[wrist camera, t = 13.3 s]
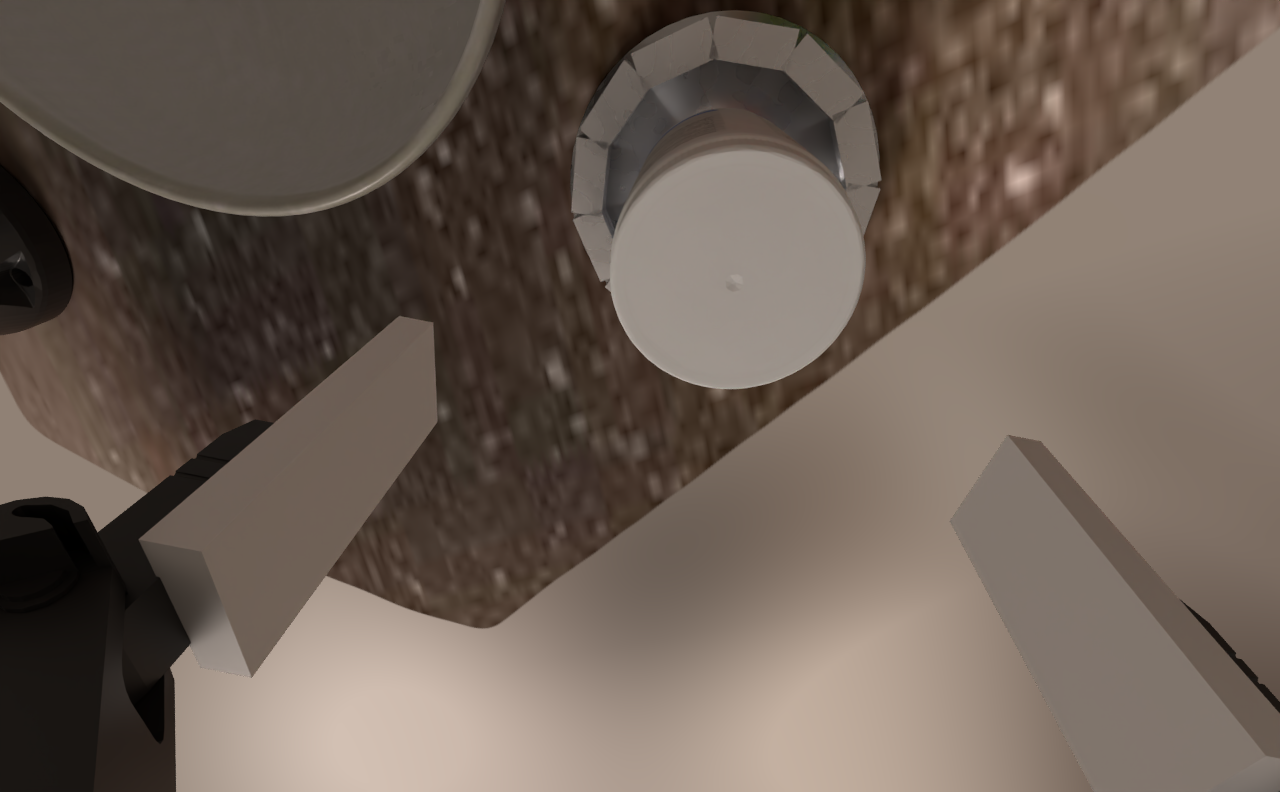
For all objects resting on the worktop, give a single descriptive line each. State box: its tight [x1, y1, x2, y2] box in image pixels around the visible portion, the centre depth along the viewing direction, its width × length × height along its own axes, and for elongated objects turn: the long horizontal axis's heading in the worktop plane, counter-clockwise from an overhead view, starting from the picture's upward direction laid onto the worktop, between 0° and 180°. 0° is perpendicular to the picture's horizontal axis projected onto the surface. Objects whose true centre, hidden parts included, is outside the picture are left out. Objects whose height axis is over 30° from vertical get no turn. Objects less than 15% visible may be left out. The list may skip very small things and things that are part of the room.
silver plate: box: [571, 10, 881, 291], centre depth 32 cm, size 18×18×2 cm
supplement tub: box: [610, 108, 866, 389], centre depth 26 cm, size 10×10×15 cm
